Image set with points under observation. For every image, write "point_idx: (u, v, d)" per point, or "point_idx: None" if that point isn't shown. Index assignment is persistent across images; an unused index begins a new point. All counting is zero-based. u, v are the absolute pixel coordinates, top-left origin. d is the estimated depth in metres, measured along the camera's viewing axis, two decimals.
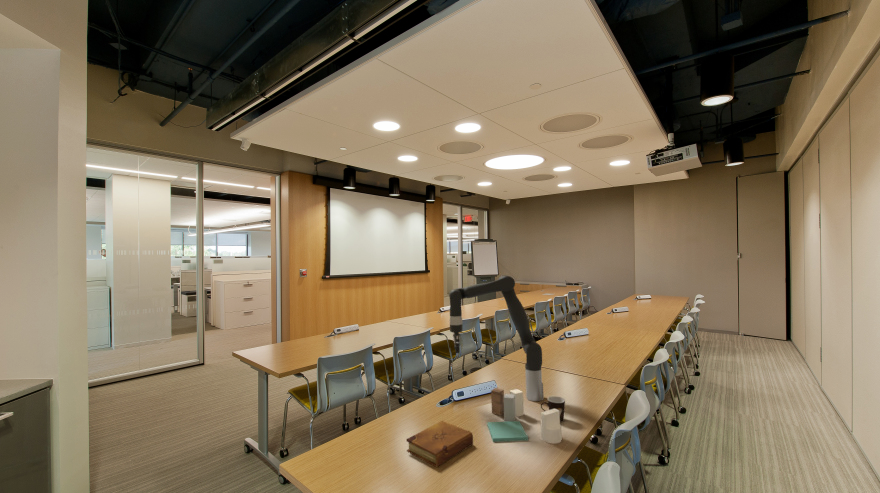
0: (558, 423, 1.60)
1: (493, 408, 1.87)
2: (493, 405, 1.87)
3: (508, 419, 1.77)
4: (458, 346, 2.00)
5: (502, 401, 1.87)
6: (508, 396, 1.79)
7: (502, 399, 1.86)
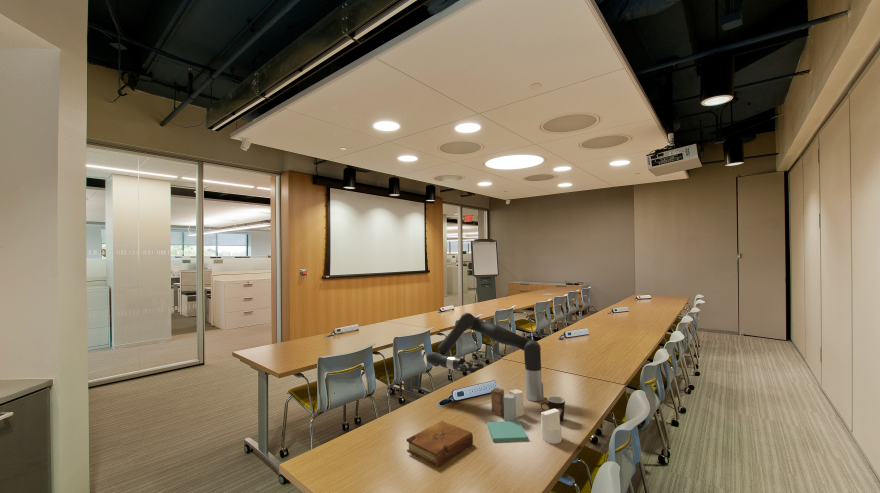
0: (558, 423, 1.60)
1: (493, 408, 1.87)
2: (493, 405, 1.87)
3: (508, 419, 1.77)
4: (467, 368, 1.94)
5: (502, 401, 1.87)
6: (508, 396, 1.79)
7: (502, 399, 1.86)
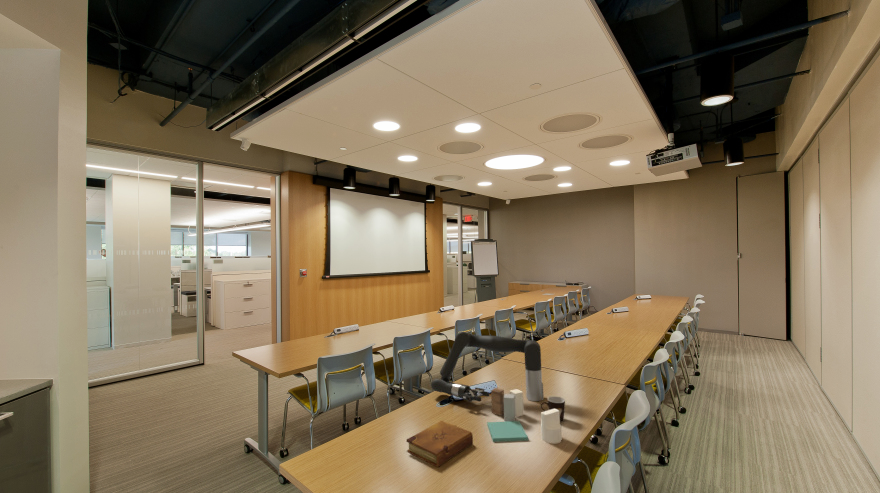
0: (558, 423, 1.60)
1: (493, 408, 1.87)
2: (493, 405, 1.87)
3: (508, 419, 1.77)
4: (473, 397, 1.91)
5: (502, 401, 1.87)
6: (508, 396, 1.79)
7: (502, 399, 1.86)
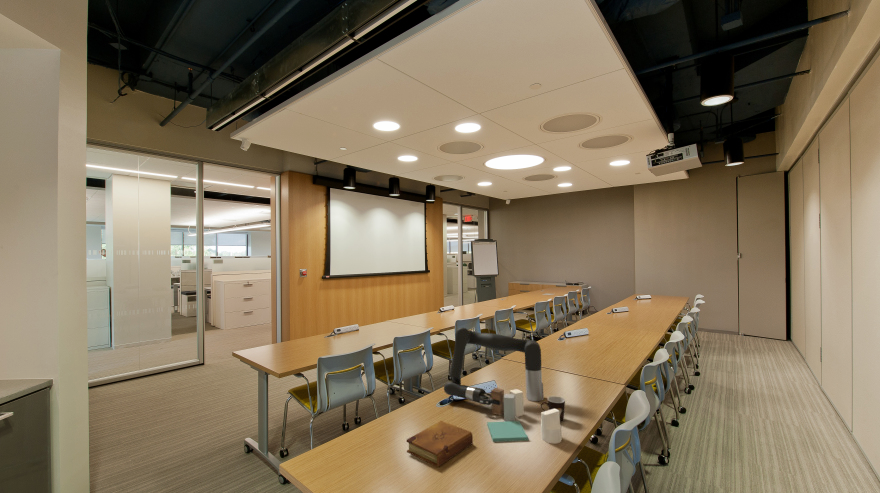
0: (558, 423, 1.60)
1: (493, 407, 1.87)
2: (493, 405, 1.87)
3: (508, 419, 1.77)
4: (491, 400, 1.85)
5: (502, 401, 1.87)
6: (508, 396, 1.79)
7: (502, 399, 1.86)
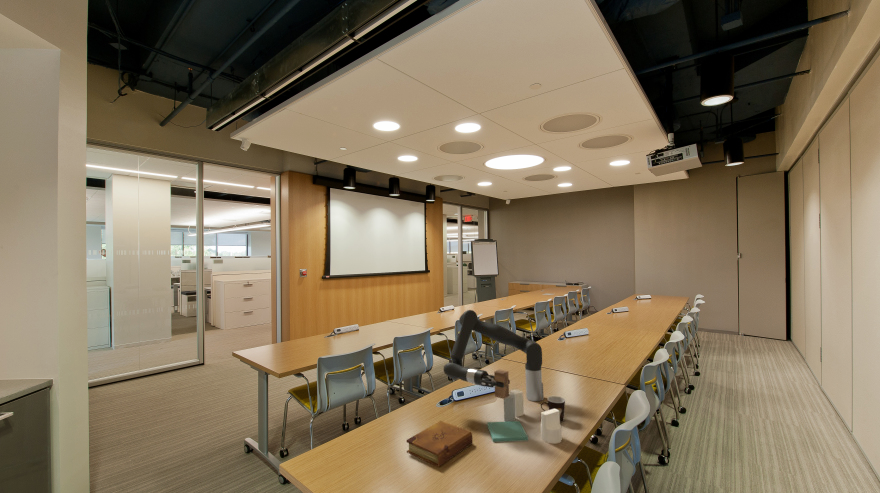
0: (558, 423, 1.60)
1: (496, 390, 1.70)
2: (496, 388, 1.70)
3: (508, 419, 1.77)
4: (495, 383, 1.69)
5: (506, 383, 1.70)
6: (508, 396, 1.79)
7: (506, 382, 1.70)
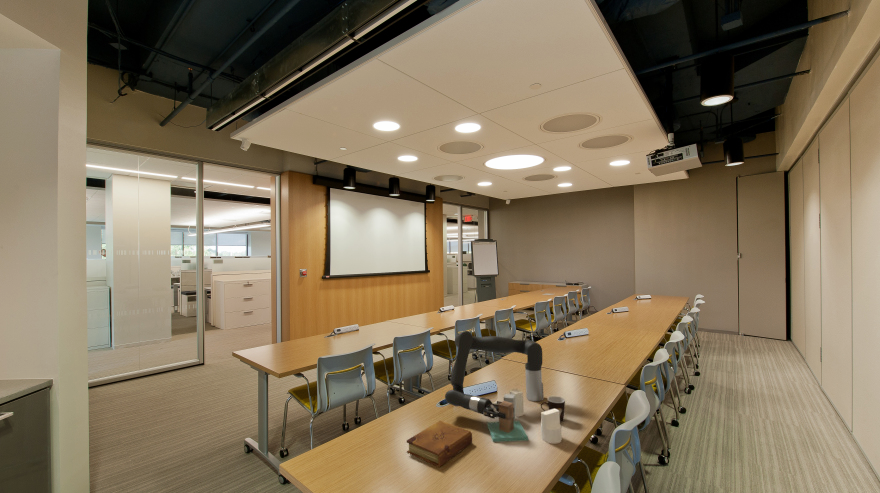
0: (558, 423, 1.60)
1: (501, 424, 1.65)
2: (501, 421, 1.65)
3: None
4: (496, 413, 1.63)
5: (511, 416, 1.65)
6: (508, 396, 1.79)
7: (511, 414, 1.65)
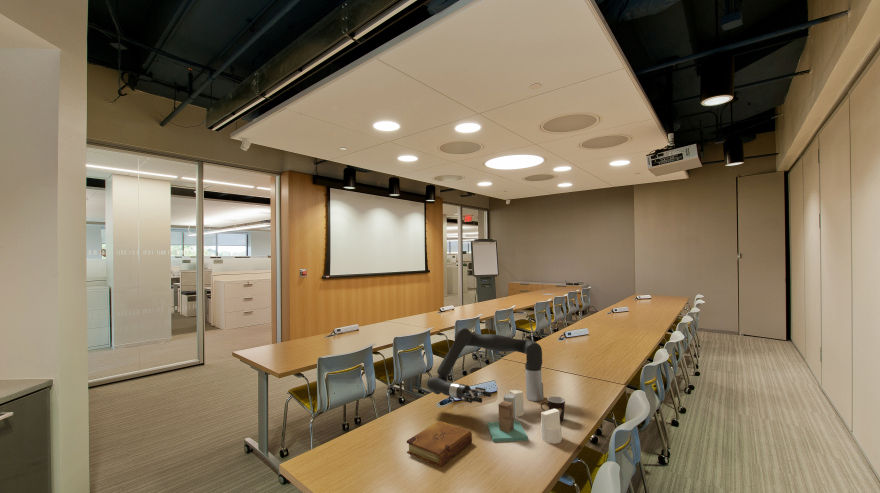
0: (558, 423, 1.60)
1: (501, 424, 1.65)
2: (501, 421, 1.65)
3: None
4: (473, 398, 1.71)
5: (511, 416, 1.65)
6: (508, 396, 1.79)
7: (511, 414, 1.65)
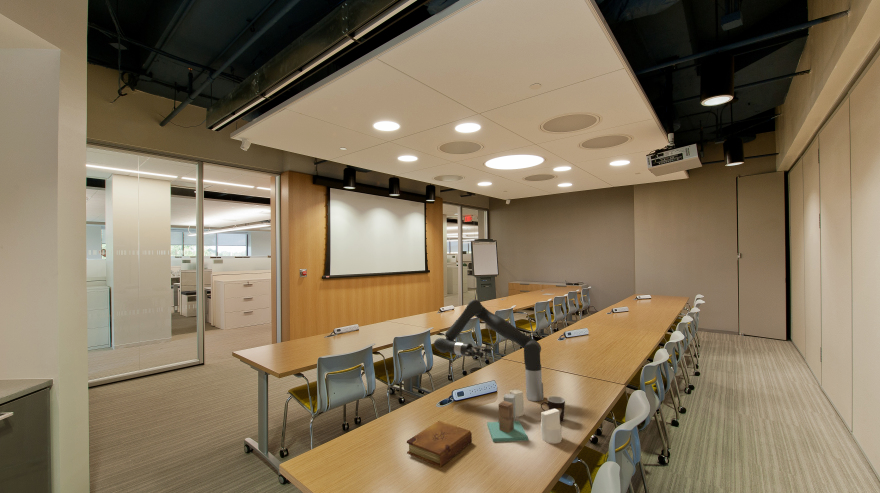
0: (558, 423, 1.60)
1: (501, 424, 1.65)
2: (501, 421, 1.65)
3: None
4: (475, 352, 1.95)
5: (511, 416, 1.65)
6: (508, 396, 1.79)
7: (511, 414, 1.65)
